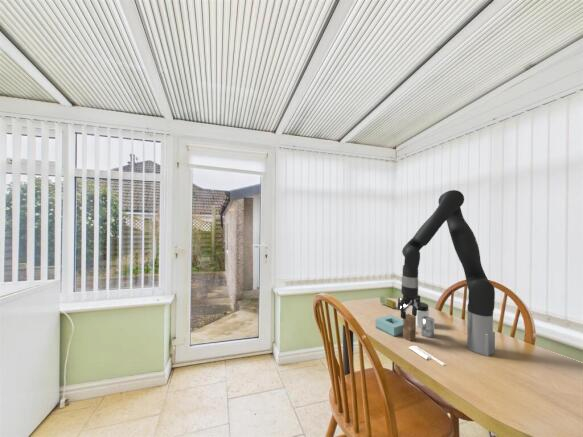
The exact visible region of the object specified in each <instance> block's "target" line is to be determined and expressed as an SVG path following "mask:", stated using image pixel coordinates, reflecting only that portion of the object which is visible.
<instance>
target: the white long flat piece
mask: <svg viewBox="0 0 583 437" xmlns="http://www.w3.org/2000/svg"><path fill="white" fill-rule="evenodd" d="M408 349H410V350H411V351H413V352H414V353H415V354H417V355H418V356H420V357H422V358H424V359H425V360H431V359H432V360H434V361H436V363H439V364H440V365H441V366H443V367H444V366H447V364H446V363H445V362H443V361H441V360H440V359H439V358H436V357H435V356H433V355H432V354H431V353H429V352H427V351H425V350H424V349H422V348H420V347H418V346H417V345H411V346H409V347H408Z"/></svg>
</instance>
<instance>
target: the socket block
mask: <svg viewBox="0 0 583 437" xmlns="http://www.w3.org/2000/svg"><path fill="white" fill-rule="evenodd" d="M375 328H376V329H377V330H379V331H381V332H383V333H386V334H387V335H389V336H392V337H394V338H395V337H398V336H403V319H402V318H399V317H396V316H394V315H391V314H388V315H385V316H382V317H381V316H380V317H378V318H375Z"/></svg>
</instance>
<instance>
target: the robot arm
mask: <svg viewBox="0 0 583 437" xmlns="http://www.w3.org/2000/svg"><path fill="white" fill-rule="evenodd" d="M464 202H465V196H464V194H463V192H461V191H459V190H455V189H451V190H448V191H445V192H444V193H442V194H441V195H440V196H439V198H438V206H437V208H436V209H435V210H434V212H433V213H432V215H430V217H428V219H426V221H425V222H424V223H423V224H422V225H421V226H420V228H419V229H418V230H417V231H416V232H415V234H414V236H412V238H411V239H410V240H409V241H408V242H407V243H406V244H405V245H404V246H403V248H402V251H401V253H402V255H403V257H404V261H403V262H404V263H403V265H402V277H401V294H402V295H403V296H402V297H398V299H397V310H398V311H400V319H401V320H403V319H406V314H407V309H409V307H411V315H413V316H417V309H418V307H420V302H421V296H420V295H419V265H420V262H421V252H420V250H422V248H423V247H425V246H427V245H428V244H429V243H430V242H431V240H432V239H433V237H434V236H435V235H436V233H437V232H438V231H439V230H440V228H441V227H442V226H443V224H444V223H445V222H446V224H447V227H448V230H449V235H450V239H451V242H452V244H453V248H454V250H455V253H456V255H457V257H458V259H459V262H460V264H461V266H462V269H463V273H464V277H465V281H466V287H467V289H468V300H467V301H468V302H467V310H466V311H467V314H466V315H467V316H466V318H467V320H466V321H467V323H466V324H467V325H466V326H467V327H466V331H467V332H466V347H467V349H468V350H470V351H471V352H473V353H476V354H479V355H484V356H485V357H490V356H492V355H494V354H496V352H495V351H496V350H495V349H496V348H495V347H496V346H495V344H496V332H495V331H494V311H495V303H496V302H495V301H496V300H495V298H496V292H495V287H494V285H493V283H491V282H490V280H489V279H488V277H487V275H486V274H485V270H484V268H483V265H482V261H481V254H480V253H481V252H480V248H479V244H478V242H477V238H476V236H475V234H474V232H473V230H472V229H471V227H470V225H469V224H468V222H467V221H466V219H465V218H464V216H463V211H462V209H461V207H462V205H463V204H464ZM417 302H418V304H417ZM412 307H413V308H412ZM493 353H494V354H493ZM491 354H492V355H491Z"/></svg>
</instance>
